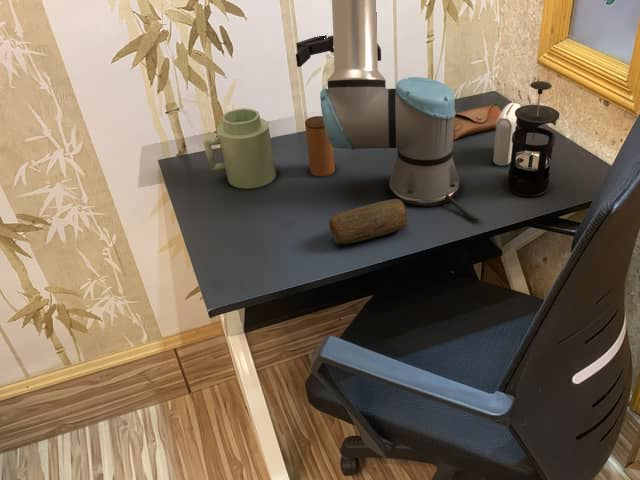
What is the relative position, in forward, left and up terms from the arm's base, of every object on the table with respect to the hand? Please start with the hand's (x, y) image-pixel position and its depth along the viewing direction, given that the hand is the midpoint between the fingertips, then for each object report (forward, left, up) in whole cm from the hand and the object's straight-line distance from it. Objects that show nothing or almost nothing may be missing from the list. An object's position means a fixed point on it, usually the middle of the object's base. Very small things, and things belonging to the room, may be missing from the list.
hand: (326, 63), depth 136 cm
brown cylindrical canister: (-7, +4, -22) cm, 23 cm away
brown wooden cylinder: (-37, 0, -22) cm, 43 cm away
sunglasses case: (+4, -38, -22) cm, 44 cm away
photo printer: (-14, -39, -22) cm, 46 cm away
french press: (-28, -38, -22) cm, 51 cm away
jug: (-6, +22, -22) cm, 31 cm away
